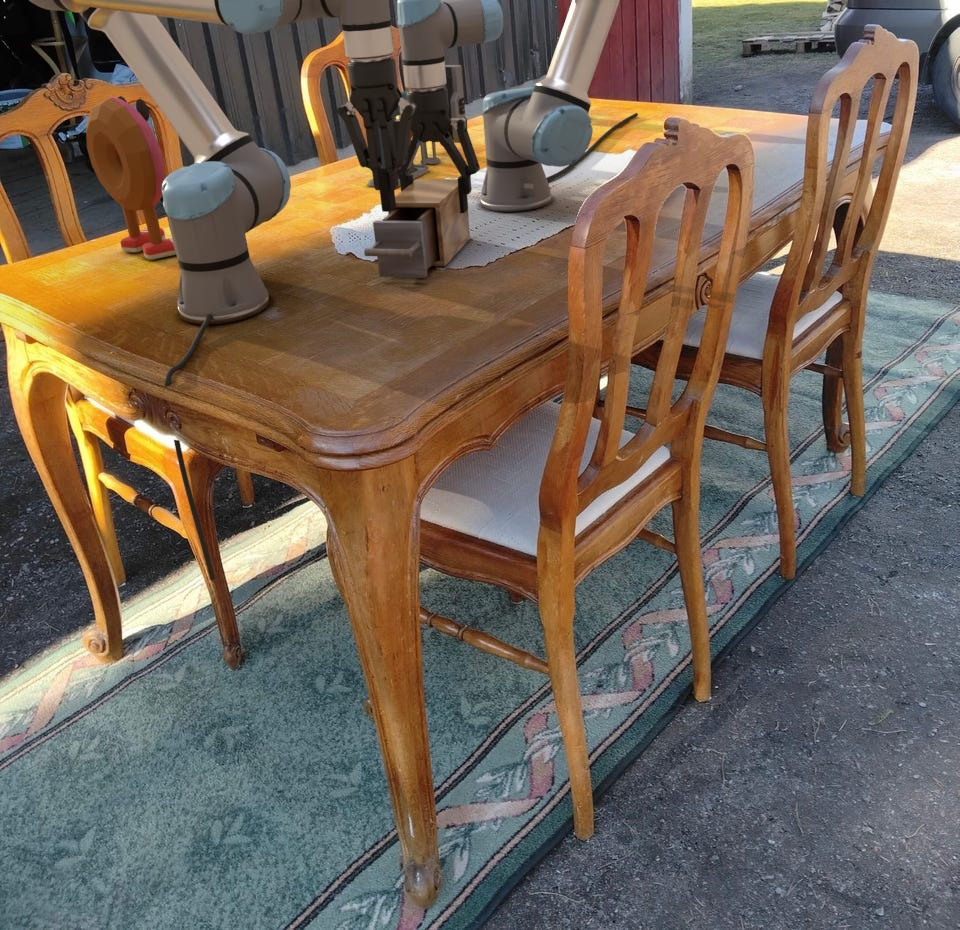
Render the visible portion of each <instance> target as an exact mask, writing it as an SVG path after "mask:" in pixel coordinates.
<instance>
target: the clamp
mask: <svg viewBox="0 0 960 930" xmlns="http://www.w3.org/2000/svg"><path fill="white" fill-rule="evenodd" d="M445 69H446V82H447V83H446V84H445V85H444V87H446V89H447V91H448V103H449V113H450V115H451V117H452V118H458V119H461V118H462V117H465V118H466V119H467V117H466V106H465V105H466V104H465V94H464V93H465V91H464V81H463V80H464V79H463V70H462V69H463V67H462V65H461V64H445ZM408 90H409V89H406V90H404V91H400V92H401V94H402V98H403V99H405V100H407V99H406V92H407V91H408ZM399 109H400V107H399V106H398V107H397V109H396V111H395V113H394V115H393V122H394V121H395V118H396V117H398V116H401V114H400V112H399ZM378 130H379V138H380V147H381V155H382V163H384V165H383V166H382V168H385V160H384V152H383V144H382V136H381V129H380V127H379V123H378ZM448 132H449V134H450V135H451V137H452V140H453V142H454V144H461V143H460V141H459V138H458V133H457V131H455V129H454V126H453V125H451V126H450V128H449V130H448ZM413 135H414V133H413V132H412V131H410V140H409V146H410V143H411V140H412V138H413ZM437 143H440V142H439V141H438V142H437ZM419 148H420V157H421V160H420V164H416V163H414V161H413V163H412V165H411V168H410V170H409V173H408V175H413V180H415V179H418V178H419V177H421V176H422V175H423V176H424V175H426V174H427V173H429V172H430V171H429V168H430V167H429V166H428V165H437V164H439V163H441V159H440V158H439V157H437V147H436V142H431V149H432V151H431V152H432V157H430V156H428V146H427V142H421V144H420V146H419ZM398 183H399V186H398V188H399V187H401V186H400V178H399V177H398ZM367 186H369V187H374V182H373V178H371V179H369V180H368V182H367Z"/></svg>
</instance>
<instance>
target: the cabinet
mask: <svg viewBox="0 0 960 930" xmlns="http://www.w3.org/2000/svg"><path fill="white" fill-rule="evenodd" d="M395 201H396V208H397V207H425V208H435V211H436V222H437V233H438V243H439V254H440V257H439V258H438V259H437V260H436V261H435V262H434V263H433V264H432V265H431V266H430V267H446V266H447V265H448V264H449V263H450V262H451V261H452V260H453V258H454V257H455V256H456V255H457V254H458V253H459V252H460V251H461V250H462V248H464V246H465V245H466V244H468V242H469V241H470V240H471V235H470V234H471V233H470V221H469V220H470V219H469V209H468V210H467V211H466V212H465V213H460V201H459V189H458V178H423V179H422V178H416V180H413V183H412V184H410V185H409V186H408V187H407V188H405V189H404V190H403V191H402V192H401V191H400V192H399V193H398V194H395ZM396 208H394V209H393V210H392V211H394V210H395V209H396ZM392 211H391V212H392ZM391 212H387V213H388V215H389V214H390V213H391Z"/></svg>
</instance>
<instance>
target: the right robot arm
mask: <svg viewBox="0 0 960 930" xmlns="http://www.w3.org/2000/svg"><path fill="white" fill-rule="evenodd" d="M396 1H397V2H396V7H397V9H396V13H397V27H398V32H399V33H398V34H399V41H400V49H401V59H402V69H403V80H404V87H405V88H406V89H407V90H408V91H407V92H406V99H407V101H408V102H410V103H412V102H414V103H415V104H416V105H417V109H416V111H415V113H414V115H413V117H412V122H411V131H412V132H413V133H414V135H413V136H412V137H411V143H410V146H409V149H408V158H407V162H406V163H405V164H404V165H402V166H401V167H398V168H397V174H398V177H399V178H400V186H399V187H400V192H402V191H403V190H404V189H405V188H407V187H408V186H409V185H410V184H412V183H413V182H414V179H413V175H408V173H409V170H410V168H411V165H412V163H413V162H414V161H415V158H416V156H417V153H418V151H419V148H420V144H421V142H426V143H428V142H430V143H432V142H435V143H439V144H440V146H442V147H443V148H444V150H445V152H446V154H447V155H448V157H449V158H450V161H452V163H453V165H454V166H455V168H456V169H457V171H458V172H459V174H460V175H459V176H458V177H457V179H458V189H459V201H460V213H465V212H466V211H467V210H468V211H469V201H468V200H469V199H468V195H470V194H471V192H472V189H473V188H472V177H471V176H472V175H475V174H476V173H477V172H479V170H480V169H481V168H480V167H481V166H480V164H479V160H478V158H477V154H476V151H475V148H474V146H473V143H472V140H471V136H470V134H469V131H468V119H467V117H466V116H465V117H466V118H465V117H462V118H461V119H458V118H452V117H451V115H450V113H449V103H448V91H447V89H446V87H444V85H445V84H446V83H447V82H446V69H445V65H446V60H445V59H446V58H445V57H446V56H445V49H451V48H458V47H465V46H471V45H472V46H473V45H478V44H479V45H480V44H482V45H485V43H489V42H493V41H496V40H498V39H499V38H500V36H501V34H502V33H503V31H504V30H503V29H504V13H503V9H502V6H501V4H500V3H499V1H498V0H396ZM619 3H620V0H571V3H570V6H569V8H568V12H567V14H566V18H565V21H564V24H563V26H562V29H561V32H560V35H559V38H558V40H557V44H556V46H555V49H554V52H553V56H552V58H551V62H550V65H549V68H548V70H547V73H546V76H545V77H544V79H542V80H540V81H538V82H536V83H535V85H534V86H530V87H520V88H513V89H505V90H500V91H495V92H491V93H488V94H486V95H485V96H484V98H483V99H482V113H481V115H482V117H483V118H482V119H483V121H482V122H483V134H484V144H485V145H484V146H485V158H486V159H485V160H486V171H485V175H484V178H483V183H482V187H481V192H480V206H481V207H483V208H484V209H486V210H488V211H493V212H502V213H503V212H504V213H505V212H507V213H511V212H512V213H513V212H524V211H530V210H536V209H539V208H543V207H545V206H546V205H548V204H550V203H551V201H552V190H551V187H550V183H549V182H551V181H553V180H556V179H557V178H559V177H560V176H564V174H566V173H567V172H568V171H570V170H571V169H573V168H575V167H576V166H577V165H579V164H580V163H581V162H582V161H583V160H585V159H586V158H587V157H588V156H589V155H590V154H591V153H592V152H594V150H595V149H596V148H597V147H598V146H599V145H600V144H601V143H602V142H603V141H604V140H605V139H607V137H608V136H610V135H611V134H612V133H613V132H614V131H616V130H617V129H619V128H621V126H623V125H624V124H626V123H628V122H630V121H632V120H633V119H635V118H637V117H638V116H639V113H637V112H635V113H633V114H631V115H630V116H628V117H626V118H624V119H623V120H621V121H619V122H617V123H616V124H615V125H614V126H612V127H611V128H609V129H608V130H607V131H606V132H604V133H603V134H602V136H600V137H599V138H598V139H597V140H596V142H594V143H593V144H592V145H591V141H592V138H593V128H594V127H593V126H592V119H591V117H590V115H589V112H590V109H591V106H592V102H591V100H590V97H589V95H588V92H589V89H590V86H591V83H592V81H593V77H594V75H595V73H596V69H597V66H598V63H599V60H600V57H601V55H602V52H603V50H604V47H605V44H606V40H607V38H608V35H609V32H610V29H611V27H612V23H613V21H614V18H615V15H616V12H617V9H618V8H619ZM400 118H401V117H400ZM400 118H397V119H395V120H394V122H393V131H394V139H395V148H396V151H397V141H398V132H399V123H400ZM451 125H453V126H454V129H455V131H457V133H458V138H459V141H460V143H459V144H460V147H461V149H462V152H463V155H462V154H461V152H460V150H459V149H458V147H457V145H456V143H454V142H453V140H452V137H451V135H450V134H449V132H448V130H449V128H450V126H451ZM438 141H439V142H438ZM590 145H591V146H590ZM589 146H590V147H589ZM463 156H464V157H465V158H464V157H463ZM543 165H544V166H547V167H559V168H562V167H564V168H562V169H561V170H560V171H558V172H556V173H553V174H552V175H550V176H548V177H547V175H546V172H545V170H544V167H543Z"/></svg>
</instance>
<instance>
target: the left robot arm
mask: <svg viewBox="0 0 960 930" xmlns="http://www.w3.org/2000/svg"><path fill="white" fill-rule="evenodd" d="M28 1H29V2H30V3H32V4H34V5H35V6H37V7H38V8H42V9H45V10H48V11H62V12H70V13H79V14H80V16H81V17H82V19H83V20H84V21H85V23H86V24H87V25H88V27H89V28H90V29H92V30H95V31H100V32H102V33H104V34H105V36H106V37H107V38H108V40H109V41H110V42H111V43H112V45H113V46H114V48H115V49H116V51H117V52H118V53H119V55H120V56H121V58H122V59H123V60H124V62H125V63H126V65H127V66H128V67H129V68H130V70H131V71H132V73H133V74H134V76H135V77H136V79H137V80H138V81H139V82H140V84H141V86H142V87H143V88H144V90H145V91H146V92H147V94H148V95H149V97H150V98H151V99H152V101H153V102H154V104H155V106H157V108H158V109H159V110H160V112H161V114H162V115H163V116H164V118H165V119H166V120H167V122H168V123H169V125H170V126H171V127H172V129H173V130H174V132H175V133H176V134H177V136H178V137H179V139H180V140H181V141H182V143H183V144H184V146H185V147H186V148H187V150H188V151H189V152H190V154H191V155H192V157H193V159H194V163H193V164H191V165H188V166H182V167H180V168H178V169H176V170H174V171H172V172H171V173H169V174H168V175H167V176H166V177H165V180H164V181H163V184H162V200H163V202H162V205H163V209H164V212H165V214H166V218H167V222H168V226H169V230H170V234H171V238H172V239H173V243H174V247H175V251H176V255H175V256H176V258H177V262H178V266H179V283H178V294H177V310H178V314H179V318H180V319H182V320H183V321H184V322H186V323H189V324H193V325H200V328H199V330H198V331H197V334H196V335H195V338H194V339H193V341H192V342H191V344H190V347H189V349H188V350H187V352H186V353H185V355H184V356H183V357H182V358H181V360H180V361H179V362H178V363H177V364H175V365H173V366H171V367H170V368H169V369H168V370H167V372H166V375H165V379H164V387H165V388H167V387H170V386H171V382H172V377H173V375H174V374H175V372H177V371H180V369H183V367H185V366H186V364H187V363H188V362H189V360H190V359H191V358H192V356H193V355H194V353H195V351H196V349H197V346H198V345H199V343H200V341H201V339H202V338H203V335H204V334H205V332H206V330H207V328H208V327H209V326H210V325H222V324H230V323H233V322H239V321H241V320H245V319H248V318H251V317H253V316H256V315H258V314H260V312H263V311H264V310H265V309H266V308H267V307H268V306H269V305H270V296H269V292H268V290H270V289H269V288H267V285H266V284H265V283H264V282H263V280H262V278H261V276H260V274H259V272H258V270H257V269H256V267H255V265H254V264H253V262H252V260H251V257H250V251H249V246H248V241H247V236H246V234H247V233H248V232H250V231H252V230H253V229H255V228H257V227H258V226H260V225H262V224H264V223H267V222H269V221H271V220H272V219H273V218H275V217H276V216H277V215H278V214H279V213H281V211H282V210H283V209H284V208H286V206H287V204H288V202H289V200H290V197H291V188H292V182H291V176H290V173H289V170H288V168H287V166H286V164H285V162H284V161H283V160H282V159H281V158H280V156H278V155H277V154H276V153H275V152H273V151H272V150H268V149H266V148H263V147H258V145H257V144H256V142H255V140H254V139H253V138H252V136H251V135H250V134H249V133H248V132H244V131H240V130H237V129H236V128H235V127H234V126H233V125H232V123H231V122H230V120H229V119H228V117H227V116H226V114H225V113H224V111H223V110H222V108H221V107H220V106H219V104H218V103H217V102H216V100H215V99H214V97H213V96H212V94H211V93H210V91H209V90H208V88H207V87H206V85H205V84H204V82H203V81H202V80H201V78H200V77H199V75H198V74H197V72H196V71H195V69H194V68H193V67H192V65H191V64H190V62H189V61H188V59H187V58H186V57H185V55H184V54H183V52H182V51H181V49H180V48H179V47H178V45H177V44H176V42H175V41H174V40H173V38H172V36H171V35H170V34H169V32H168V31H167V29H166V28H165V27H164V25H163V23H162V22H161V21H160V19H159V18H158V17H163V18H169V19H170V18H171V19H178V20H185V21H192V22H199V23H200V22H201V23H209V24H214V25H223V26H228V27H230V28H231V29H233V30H234V31H236V32H238V33H239V34H243V35H252V34H254V35H255V34H256V35H259V34H264V33H267V32H269V31H271V30H275V29H277V28H280V27H284V26H287V25H291V24H295V23H298V22H301V21H305V20H312V19H326V18H340V22H341V30H342V37H343V43H344V44H343V46H344V52H345V53H344V54H345V57H346V58H347V59H349V61H348V62H347V63H346V66H347V74H348V83H349V86H350V93H349V96H348V97H349V98H348V99H349V100H348V101H347V102H346V103H344V104H342V105H341V106H340V107H338V108H337V110H336V111H337V114H338V115H339V116H340V118H341V119H342V120H343V122H344V124H345V127H346V130H347V133H348V135H349V138H350V140H351V141H350V142H351V144H352V146H353V149H354V152H355V155H356V158H357V160H358V163H359V166H360V167H361V168H366V169H369V170H370V171H371V173H372V179H373V182H374V189H375V191H379V196H380V203H381V211H382V212H384V213H385V212H386V213H388V212H391V211H392V210H393V209H394V208H396V201H395V196H396V193H395V191H396V190H397V189H398V188H399V187H400V186H399V183H398V174H397V168H398V167H401V166H402V165H404V164H405V163H406V162H407V158H408V149H409V140H410V131H411V122H412V117H413V115H414V113H415V111H416V109H417V105H416V104H415V103H414V102H412V103H410V102H408V101H407V100H405V99H403V98H402V94H401V92H402V91H401V89H400V88H399V82H398V72H397V62H396V58H395V57H393V56H392V55H393V54H394V53H395V45H394V35H393V28H392V27H393V26H392V21H391V20H392V19H391V10H390V2H389V1H390V0H28ZM398 106H399V107H400V109H399V112H400V114H401V115H400V123H399V132H398V141H397V151H396V148H395V139H394V131H393V115H394V113H395V111H396V109H397V107H398ZM357 112H358V114H359V115H360V117H361V118H362V122H363V127H364V129H365V133H366V134H365V135H366V138H365V135H364V133H363V130H362V127H361V125H360V122H359V119H358V117H357V115H356V113H357ZM378 123H379V127H380V129H381V136H382V144H383V152H384V160H385V168H382V166H383V165H384V163H382V155H381V147H380V138H379V130H378ZM398 186H399V187H398ZM267 289H268V290H267ZM173 443H174V448H175V451H176V452H175V454H176V456H177V462H178V466H179V470H180V475H181V478H182V482H183V486H184V490H185V494H186V498H187V501H188V505H189V508H190V512H191V515H192V516H191V517H192V519H193V522H194V525H195V529H196V533H197V537H198V539H199V543H200V546H201V551H202V553H203V557H204V561H205V564H206V565H205V566H206V569H207V573H208V577H209V580H210V581H212V582H213V581H215V580H216V576H215V572H214V569H213V564H212V561H211V557H210V553H209V549H208V546H207V542H206V538H205V534H204V532H203V531H204V530H203V528H202V525H201V521H200V518H199V514H198V511H197V507H196V503H195V500H194V495H193V492H192V488H191V484H190V480H189V477H188V472H187V468H186V464H185V460H184V456H183V451H182V445H181V442H180V440H179V439H173Z"/></svg>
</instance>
